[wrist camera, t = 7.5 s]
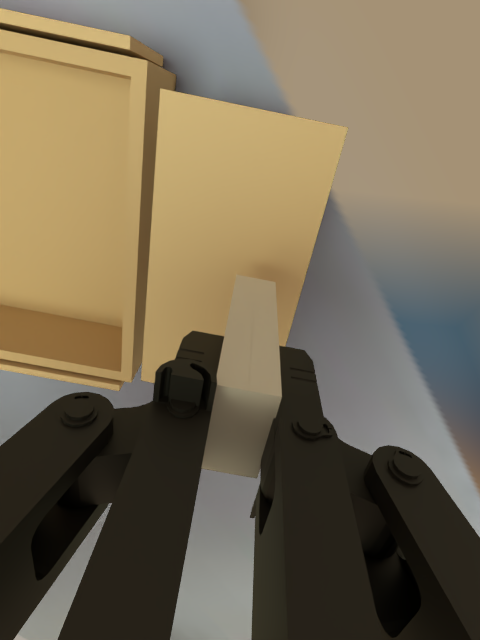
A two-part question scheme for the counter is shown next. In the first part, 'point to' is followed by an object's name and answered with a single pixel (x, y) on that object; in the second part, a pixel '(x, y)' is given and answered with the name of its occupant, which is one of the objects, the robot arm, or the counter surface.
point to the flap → (230, 213)
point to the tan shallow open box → (75, 198)
